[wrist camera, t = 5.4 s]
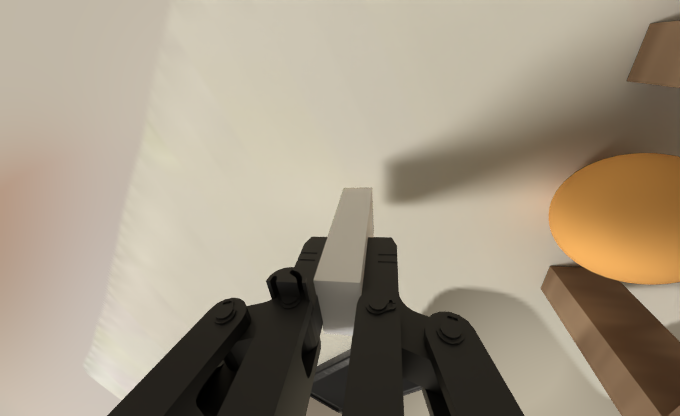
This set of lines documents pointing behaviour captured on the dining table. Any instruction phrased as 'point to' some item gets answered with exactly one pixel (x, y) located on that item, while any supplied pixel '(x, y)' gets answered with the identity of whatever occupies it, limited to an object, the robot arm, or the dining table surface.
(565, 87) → the dining table surface
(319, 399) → the phone
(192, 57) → the dining table surface
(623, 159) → the ball
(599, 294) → the bridge
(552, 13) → the dining table surface
